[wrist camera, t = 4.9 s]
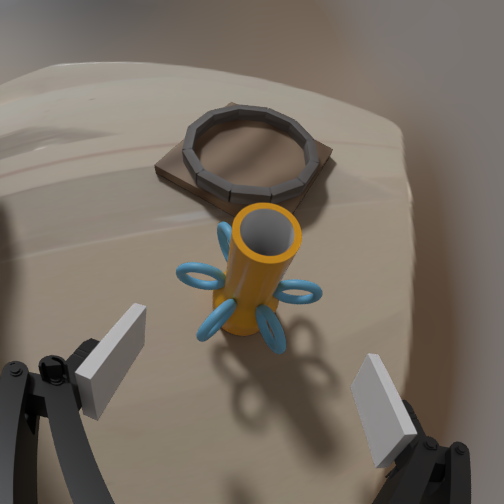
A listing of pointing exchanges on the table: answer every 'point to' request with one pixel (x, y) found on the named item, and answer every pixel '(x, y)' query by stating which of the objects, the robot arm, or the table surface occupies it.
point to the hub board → (245, 158)
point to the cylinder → (252, 274)
